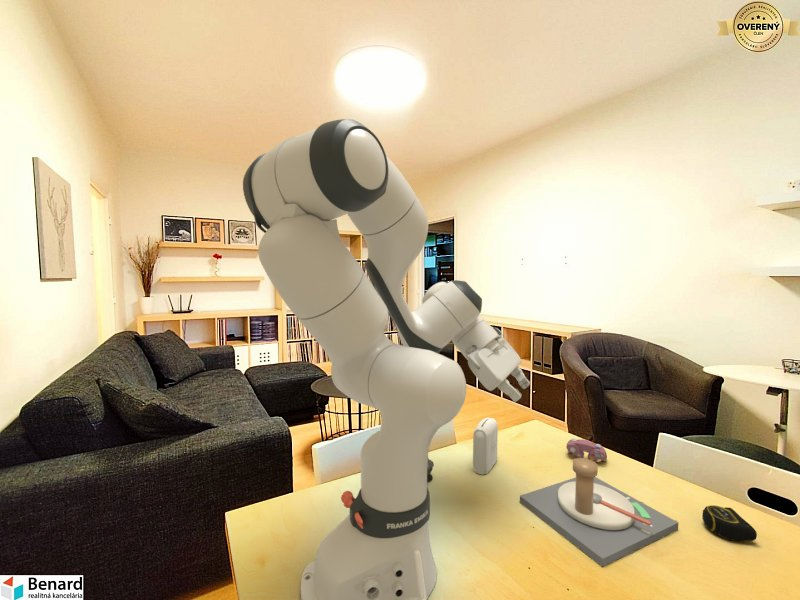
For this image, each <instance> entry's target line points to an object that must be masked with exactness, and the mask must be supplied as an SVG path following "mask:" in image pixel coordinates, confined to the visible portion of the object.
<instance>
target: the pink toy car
mask: <svg viewBox="0 0 800 600" xmlns="http://www.w3.org/2000/svg"><path fill="white" fill-rule="evenodd" d="M565 447H566V449H567V452H568V453H569V454H573V455H574V457H576V458H584V457H585V453H588V454H587V458H586V459H589V460H592V461H594V462H595V463H596V462H597V461H599V460H601V461H602V462H606V461H607V457H608V455H607V451H606V449H605V448H604V447H603V446H602V445H601V444H599V443H595V442H593V441H590V440H588V439H585V438H584V439H581V438H579V439H576V438H574V437H573V438H571V439H569V440H568V441H567V443H566V446H565ZM584 452H585V453H584Z"/></svg>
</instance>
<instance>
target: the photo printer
mask: <svg viewBox="0 0 800 600" xmlns="http://www.w3.org/2000/svg"><path fill="white" fill-rule="evenodd" d="M498 425H499V424H498V421H497V420H495V418H493V417H485V418H483V419H481V420H480V421H479V422H478V423H477V425H476V427H475V429H474V431H473V437H472V441H473V442H472V444H473V445H472V470H473V471H474V472H475V473H476V474H479V475H487V474H488V473H489V472H490V471H491V469H492V468H493V467H494V466H495V464H496V463H497V459H498V433H499V432H498V431H499V430H498V429H499V428H498V427H499V426H498Z"/></svg>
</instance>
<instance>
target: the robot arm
mask: <svg viewBox="0 0 800 600" xmlns="http://www.w3.org/2000/svg"><path fill="white" fill-rule="evenodd" d="M242 191H243V195H244V199H245V202H246V205H247V208H248V209H249V211H250V213H251V214H252V216H253V218H254V222H255V225H256V226H257V228H258V229H259V230H260V231H261V232H263V236H262V237H261V239H260V241H259V244H258V247H257V248H258V249H257V251H258V254H257V255H258V258H259V259H258V260H259V262H260V264H261V266H262V268H263V270H264V272H265V273H266V275H267V277H268V279H269V280H270V282H271V284H272V285H273V288H275V290H276V291H277V293H278V295H279V296H280V298H281V299H282V300H283V302H284V303H285V304H286V306H287V307H288V308H289V309H290V311H291V312H292V313H293V314H294V316H295V317H296V318H297V319H298V321H299V322H300V323H301V324H302V325H303V327H304V328H305V329H306V331H308V333H309V334H310V335H311V336H312V337H313V338H314V340H315V341H316V342H317V343H318V345H319V346H320V347H321V348H322V349H323V351H324V352H325V354H326V355H327V357H328V358H329V361H330V363H331V366H330V367H331V368H330V375H331V379H332V382H333V384H334V386H335V387H336V389H338V390H339V391H340V392H341V393H342V394H343V395H346V396H347V397H348V398H350V399H351V400H353V401H354V402H355V403H358V404H362V405H365V406H367V407H370V408H372V409H375V410H379V413H380V415H381V424H380V430H378V431H376V432H374V433H372V434H371V435H369V437H368V438H367V439H366V441H365V442H364V443H363V445H362V447H361V450H360V489H359V492H358V494H357V496H356V497H355V496H354V494H353V492H351V490H345V491H344V492H342V494H341V497H340V500H341V502H342V503H343V506H344V507H345V508H346V509H349V515H347V517H345V518H344V519H343V520H342V521H341V522H340V523H338V524H337V526H336V527H335V528H333V529H332V530H331V531H330V532H329V533H328V534H326V535H325V536H324V538H322V540H320V543H319V545H318V548H317V551H316V556H315V560H314V561H311V562H309V563H308V564H307V565H306V566H305V567H304V570H303V572H302V575H301V580H300V600H428V598H429V596H430V594H431V593H432V591H433V589H434V588H435V585H436V583H437V579H438V571H437V570H438V569H437V566H436V562H435V558H434V555H433V551H432V547H431V539H430V532H429V531H430V530H429V520H430V515H431V509H430V508H431V502H430V490H429V488H428V483H427V466H428V458H429V452H430V447H431V443H432V441H433V438H434V436H435V435H436V433H437V432H438V430H439V429H440V428H441V427H443V426H445V425H446V424H448V423H450V422H452V421H453V419H455V418H456V417H457V416H458V414H459V413H460V412H461V409H462V408H463V405H464V403H465V401H466V396H467V381H466V378H465V374H464V371H463V369H462V367H461V365H459V363H458V362H456V361H455V360H453V359H452V358H450V357H447V356H445V355H443V354H440V352H441V351H443V350H444V347H446V346H447V345H448V344H449V343H451V341H452V344H453V345H454V346H455V348H457V350H458V351H459V352H460V353H461V354H462V355H463V357H464V358H465V359H466V360H467V364H468V367H469V369H470V370H471V372H472V373H473V374H474V376H475V377H476V378H477V380H478V381H479V382H480V383H481V385H482V386H483V387H484V388H485V389H486V390H487V391H490V392H492V391H494V390H495V389H496V388H498V389H499V390H500V391H501V393H503V394H505V395H507V396H508V397H510V399H511V400H512V401H513V402H515V403H516V402H518V401H519V400H521V398H522V393H521V391H519V389H518V388H515V387H514V386H513V385H512V384H510V381H509V380H508V379H507V378H508V377H509V376H510V375H511V376H513V377H514V378H515V379H516V382H518V385H519V386H520V387H521V389H523V390H525V389H527V388H528V387H529V386H530V385H531V382H530V380H529V379H527V377H526V376H525V373H524V372H523V370H522V369H521V368H520V366H519V365H520V364H521V363H522V359H521V357H520V355H519V354H518V353H517V352H516V350H515V348H513V346H512V345H511V344H510V343H509V342H508V341H507V340H506V339H505V338H504V337H503V335H504V334H503V332H502V331H501V330H500V329H499V328H497V327H494V326H491V325H490V324H489V323H488V321H486V320H485V319H484V318H483V317H481V316H480V314H481V313H482V306H483V299H482V297H481V296H480V295H479V294H478V293H477V292H476V291H475V290H474V289H473V288H472V287H471V285H469V284H468V282H467V281H465V280H456V279H455V280H451V281H448V282H445V281H439V282H436V283H434V284H433V285H432V286H430V287H429V288H428V289H427V290H426V291H425V292H424V295H423V297H422V300H421V305H419V306H418V307H417V308H416V309H414V310H412V311H411V309H410V307H409V304H408V303H407V301H406V299H405V296H404V295H403V289H402V288H403V283H404V281H405V278H406V276H407V274H408V272H409V271H410V268H411V267H412V266H413V263H415V261H416V260H417V257H419V256H420V254H421V251H422V250H423V248H424V247H425V244H426V241H427V238H428V234H429V219H428V216H427V213H426V211H425V209H424V207H423V204H422V202H421V201H420V199H419V197H418V196H417V194H416V193H415V191H414V190H413V188H412V186H411V185H410V183H409V182H408V181H407V179H406V177H405V176H404V175H403V173H402V172H401V171H400V170H399V169H398V167H397V166H396V164H394V162H393V161H392V160H391V159H390V158H389V157H388V156H387V153H386V151H385V150H384V147H383V145H382V143H381V141H380V139H379V138H378V137H377V135H376V134H374V132H373V131H371V130H370V128H368V127H367V126H365V125H364V124H362V123H361V122H359V121H357V120H355V119H350V118H343V119H334V120H332V121H331V120H330V121H326V122H324V123H322V124H321V125H319V126H318V127H317V128H314V129H311V130H308V131H306V132H303V133H301V134H299V135H297V136H291V137H288V138H287V139H285V140H283V141H280V142H279V143H278V144H277V145H275V146H274V147H273V148H271V149H270V150H269V151H268V152H265V153H262V154H260V155H259V156H258V157H256V158H255V160H254V161H253V162H252V163H251V164H250V165H249V166H248V168H247V169H246V171H245V173H244V176H243V181H242ZM344 215H347V216H348V217H349V219H350V220H351V221H352V222H351V223H353V225H354V226H355V228H356V229H357V230H358V231H359V233H360V234H361V236H362V238H363V239H364V240H365V243H366V248H367V259H366V261H365V264H364V266H365V270H366V271H364V270H363V268H362V267H361V265H360V264H359V262H358V261H357V259H356V258H355V257H354V255H353V254H352V253H351V251H350V250H349V249H348V247H347V246H346V245H345V244H344V242H343V241H342V238H341V236H340V231H339V227H338V221H337V220H338V219H337V218H340V217H343V216H344ZM365 272H366V273H365ZM389 318H390V320H391V321H392V323H393V325H394V327H395V329H396V331H397V335H398V336H399V339H400V343H401V344H402V345H401V344H398V343H395V342H394V341H392V340H391V339H389V338H388V336H387V335H386V334H385V331H386V329H387V325H388V321H389Z"/></svg>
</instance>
